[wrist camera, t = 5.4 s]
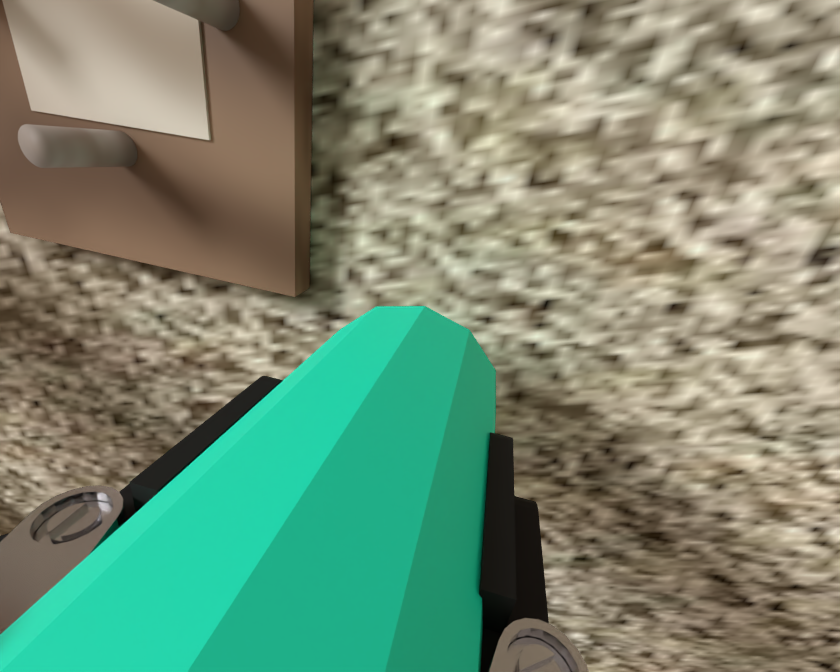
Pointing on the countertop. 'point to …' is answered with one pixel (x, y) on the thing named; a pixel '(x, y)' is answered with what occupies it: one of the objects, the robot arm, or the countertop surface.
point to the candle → (303, 527)
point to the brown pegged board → (162, 132)
